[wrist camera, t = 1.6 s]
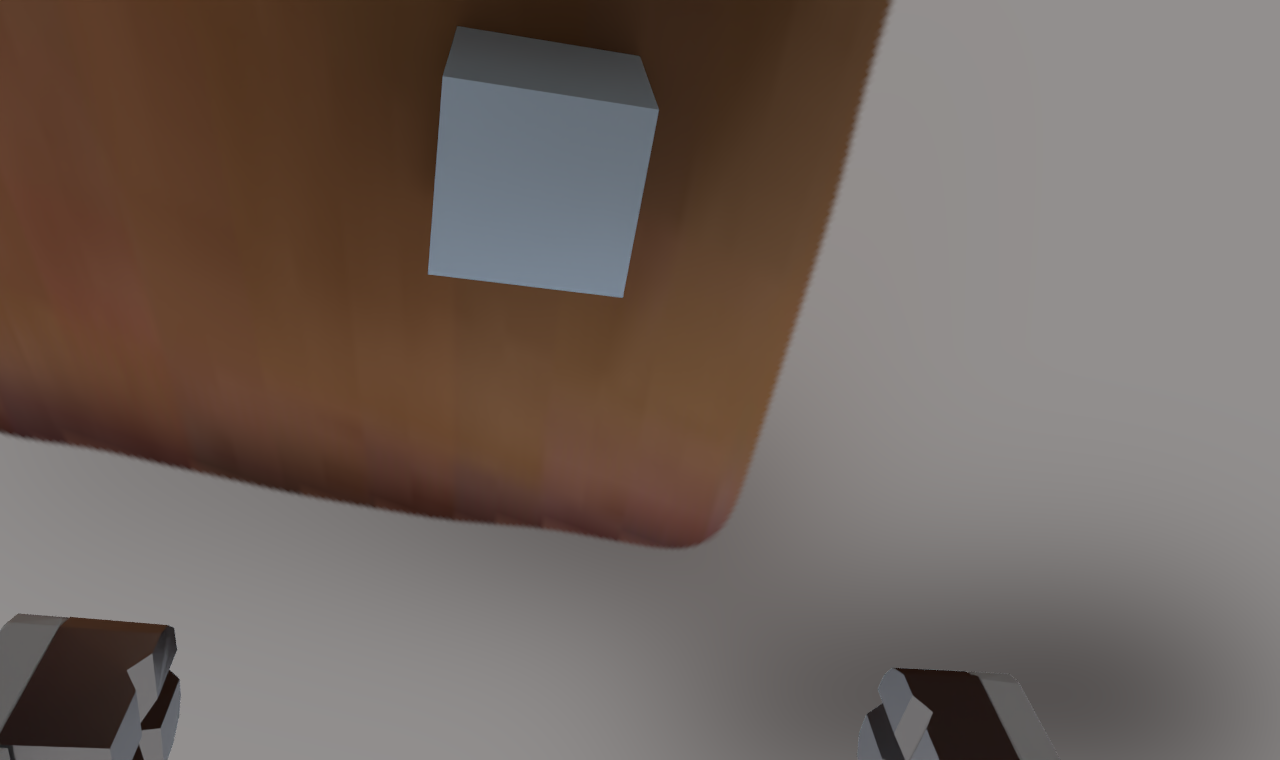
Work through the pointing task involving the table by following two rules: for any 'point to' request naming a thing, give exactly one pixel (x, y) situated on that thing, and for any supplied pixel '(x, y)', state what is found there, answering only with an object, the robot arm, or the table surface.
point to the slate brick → (539, 163)
